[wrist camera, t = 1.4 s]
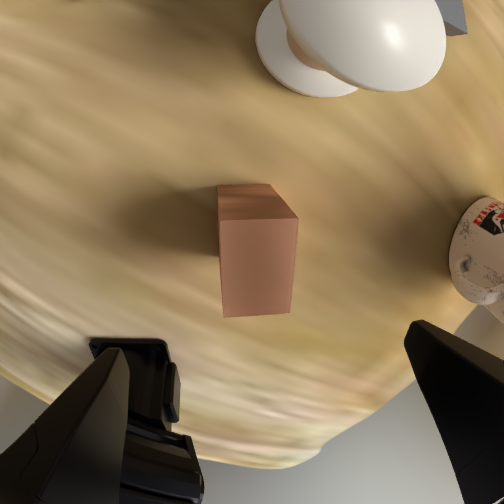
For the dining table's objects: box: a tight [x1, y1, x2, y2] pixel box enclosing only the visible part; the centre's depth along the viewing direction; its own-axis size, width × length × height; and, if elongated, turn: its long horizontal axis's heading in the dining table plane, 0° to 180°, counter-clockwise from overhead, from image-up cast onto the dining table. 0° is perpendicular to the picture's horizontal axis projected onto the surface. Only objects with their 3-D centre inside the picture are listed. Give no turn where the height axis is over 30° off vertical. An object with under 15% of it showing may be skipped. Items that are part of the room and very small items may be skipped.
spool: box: [255, 0, 446, 98], centre depth 10 cm, size 7×7×7 cm
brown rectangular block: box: [217, 184, 299, 318], centre depth 15 cm, size 3×4×6 cm, turn 179°
